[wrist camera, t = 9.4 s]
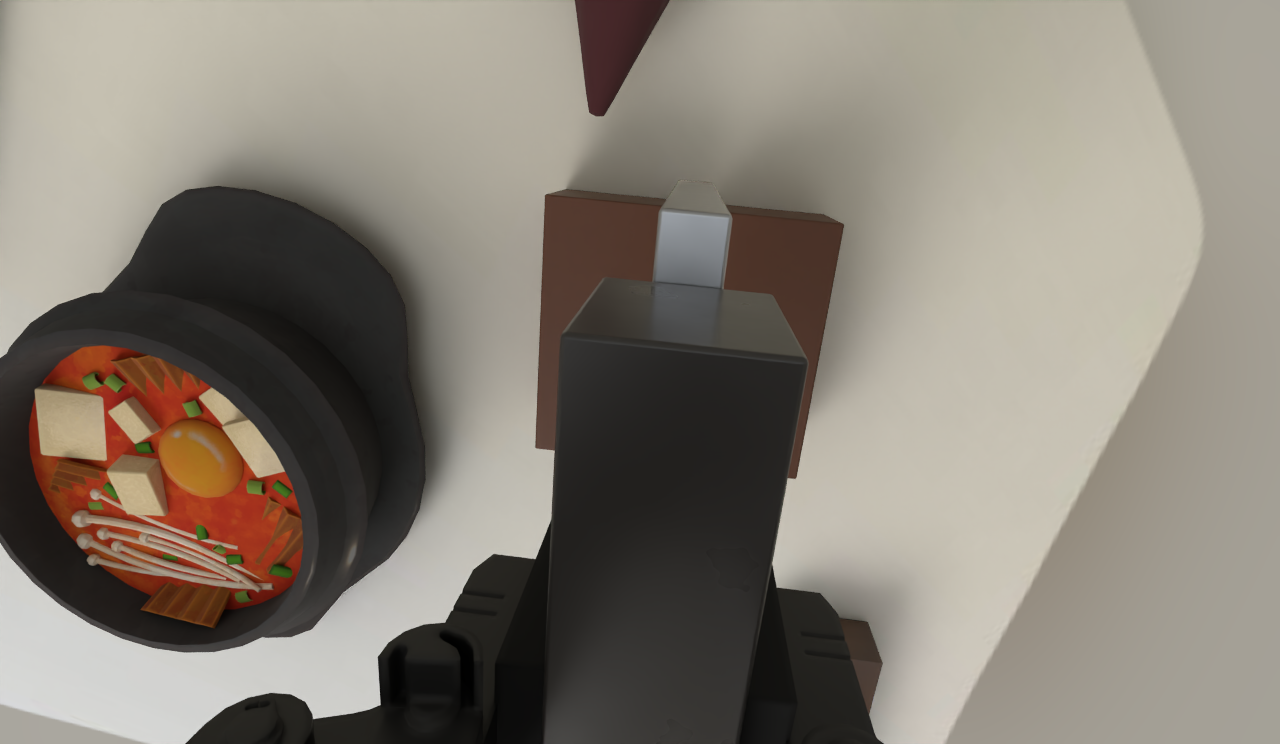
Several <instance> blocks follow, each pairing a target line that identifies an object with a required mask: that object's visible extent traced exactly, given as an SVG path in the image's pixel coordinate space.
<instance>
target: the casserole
mask: <svg viewBox="0 0 1280 744" xmlns="http://www.w3.org/2000/svg"><path fill="white" fill-rule="evenodd" d="M424 484H425V445H424V440H423V436H422V432H421V428H420V423H419V419H418V415H417V411H416V406H415V402H414V398H413V394H412V390H411V386H410V381H409V377H408V340H407V327H406V315H405V305H404V303H403V300H402V298H401V296H400V294H399V292H398V290H397V288H396V286H395V283H394V281H393V279H392V277H391V275H390V274H389V273H388V272H387V271H386V269H385V268H384V267H383V266H382V265H381V264H380V263H379V262H378V261H377V259H376V258H375V257H374V256H373V255H372V254H371V253H370V252H369V251H368V249H367V248H365V247H364V246H363V245H361V244H360V243H359V242H358V241H356V240H355V239H354V238H352V237H351V236H350V235H348V234H347V233H346V232H344V231H343V230H342V229H341V228H339V227H338V226H337V225H335V224H334V223H332V222H330V221H328V220H327V219H325V218H323V217H321V216H319V215H317V214H315V213H313V212H312V211H310V210H308V209H306V208H304V207H302V206H300V205H298V204H297V203H294V202H291V201H288V200H284V199H281V198H278V197H275V196H271V195H268V194H265V193H262V192H259V191H255V190H247V189H238V188H230V187H221V186H214V187H206V188H198V189H189V190H185V191H184V192H182V193H180V194H179V195H177V196H175V197H174V198H172V199H170V200H168V201H167V202H165V203H163V204H162V205H161V207H160V208H159V210H158V212H157V213H156V215H155V217H154V218H153V220H152V222H151V223H150V225H149V227H148V228H147V230H146V232H145V234H144V236H143V238H142V240H141V242H140V244H139V246H138V247H137V249H136V251H135V253H134V255H133V257H132V259H131V261H130V263H129V264H128V265H127V266H126V267H125V269H124V270H123V271H122V272H121V273H120V274H119V275H118V276H117V277H116V278H115V279H114V281H113V282H112V283H111V284H110V285H109V286H108V287H107V288H106V289H105V290H104V291H103V292H102V293H91V294H88V295H86V296H83V297H80V298H77V299H74V300H71V301H68V302H65V303H62V304H59V305H57V306H55V307H54V308H52V309H51V310H49V311H48V312H46V313H45V314H43V315H42V316H40V317H39V318H37V319H36V320H34V321H33V322H31V323H30V324H29V326H28V327H27V328H26V329H25V330H24V331H23V333H22V334H21V335H20V336H19V337H18V338H17V340H16V341H15V342H14V343H13V344H12V345H11V347H10V348H9V350H8V352H7V354H6V355H4V356H3V357H1V358H0V543H1V545H2V546H3V548H4V549H5V550H6V552H7V553H8V555H9V556H10V558H11V559H12V560H13V561H14V562H15V563H16V564H17V565H18V566H19V567H20V568H21V569H22V571H23V572H24V573H25V574H26V575H27V576H28V577H29V578H30V579H31V580H32V581H33V583H35V584H36V585H37V586H38V587H39V588H41V589H42V590H43V591H44V592H45V593H47V594H48V595H49V596H50V597H51V598H53V599H54V600H55V601H56V602H57V603H59V604H60V605H61V606H63V607H64V608H66V609H67V610H69V611H71V612H72V613H74V614H75V615H77V616H78V617H80V618H82V619H83V620H85V621H86V622H88V623H90V624H91V625H94V626H96V627H98V628H100V629H102V630H104V631H107V632H109V633H111V634H113V635H115V636H117V637H120V638H122V639H125V640H129V641H132V642H135V643H139V644H142V645H145V646H148V647H152V648H157V649H164V650H171V651H178V652H216V651H220V650H225V649H230V648H235V647H240V646H243V645H245V644H248V643H250V642H252V641H254V640H257V639H259V638H261V637H266V638H270V637H292V636H295V635H298V634H300V633H303V632H305V631H308V630H311V629H312V628H313V627H314V626H315V625H316V624H317V622H318V621H319V620H320V619H321V618H322V617H323V615H324V614H325V613H326V612H327V611H328V610H329V608H330V607H331V606H332V605H333V604H334V603H335V601H336V600H337V599H338V598H339V597H340V596H341V594H342V593H343V592H344V591H345V590H347V589H348V588H349V587H351V586H352V585H354V584H355V583H356V582H358V581H359V580H360V579H362V578H363V577H364V576H366V575H367V574H368V573H370V572H371V571H372V570H374V569H375V568H376V567H378V566H379V565H380V564H382V563H383V562H385V561H386V560H387V559H389V557H390V556H391V555H392V554H393V552H394V551H395V550H396V549H397V547H398V546H399V545H400V544H401V543H402V541H403V540H404V539H405V538H406V536H407V534H408V532H409V530H410V528H411V526H412V524H413V522H414V520H415V517H416V515H417V513H418V511H419V508H420V503H421V498H422V494H423V489H424Z"/></svg>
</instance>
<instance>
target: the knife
mask: <svg viewBox="0 0 1280 744" xmlns="http://www.w3.org/2000/svg"><path fill="white" fill-rule="evenodd" d="M731 227H732V215H731V214H730V212H729V210H728V208H727V207H726V205H725V203H724V202H723V200H722V198H721V196H720V195H719V193H718V191H717V189H716V188H715V186H714V184H713V183H710V182H699V181H688V180H679V181H678V183H677V184H676V186H675V187H674V189H673V190H672V192H671V193H670V195H669V196H668V198H667V199H666V201H665V203H664V204H663V206H662V207H661V209H660V211H659V215H658V226H657V236H656V247H655V257H654V268H653V279H652V282H648V281H638V280H628V279H618V278H609V277H606V278H603V279H602V280H601V282H600V283H599V284H598V286H597V287H596V288H595V290H594V291H593V292H592V294H591V295H590V296H589V298H588V299H587V300H586V302H585V303H584V304H583V306H582V307H581V308H580V310H579V311H578V312H577V314H576V315H575V316H574V318H573V319H572V320H571V322H570V323H569V324H568V326H567V327H566V328H565V330H564V331H563V332H562V334H561V336H560V353H559V374H558V394H557V415H556V436H555V457H554V477H553V498H552V519H551V540H550V561H549V581H548V602H547V623H546V644H545V664H544V685H543V706H542V727H541V744H739V741H740V736H741V730H742V725H743V719H744V714H745V708H746V703H747V697H748V692H749V686H750V681H751V675H752V670H753V665H754V659H755V654H756V648H757V643H758V637H759V632H760V626H761V621H762V615H763V610H764V605H765V599H766V594H767V588H768V583H769V577H770V572H771V566H772V561H773V555H774V550H775V545H776V539H777V534H778V528H779V523H780V517H781V512H782V506H783V501H784V495H785V490H786V484H787V479H788V474H789V468H790V463H791V457H792V452H793V446H794V441H795V435H796V430H797V424H798V419H799V414H800V408H801V403H802V397H803V392H804V386H805V381H806V375H807V370H808V364H809V363H808V359H807V357H806V355H805V353H804V352H803V350H802V348H801V346H800V344H799V342H798V341H797V339H796V337H795V335H794V333H793V331H792V329H791V328H790V326H789V324H788V322H787V320H786V318H785V317H784V315H783V313H782V311H781V309H780V307H779V306H778V304H777V302H776V300H775V298H774V296H773V295H771V294H764V293H755V292H745V291H735V290H725V289H723V288H724V280H725V272H726V265H727V257H728V250H729V242H730V234H731Z"/></svg>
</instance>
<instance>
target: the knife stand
mask: <svg viewBox="0 0 1280 744" xmlns="http://www.w3.org/2000/svg"><path fill="white" fill-rule="evenodd" d="M839 619H840V618H839ZM840 623H841V626H842V629H843V632H844V636H845V641H846V642H847V645H848V649H849V652H850V655H851V661H852V662H853V665H854V668H855V671H856V675H857V678H858V681H859V684H860V688H861V691H862V694H863V698H864V701H865V704H866V707H867V711H868V714H869V712H870V708H871V705H872V701H873V697H874V693H875V690H876V686H877V682H878V678H879V675H880V671H881V667H882V660H881V657H880V655H879V652H878V649H877V646H876V644H875V641H874V638H873V635H872V633H871V630H870V627H869V624H868V622H863V621H855V620H848V619H840Z"/></svg>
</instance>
